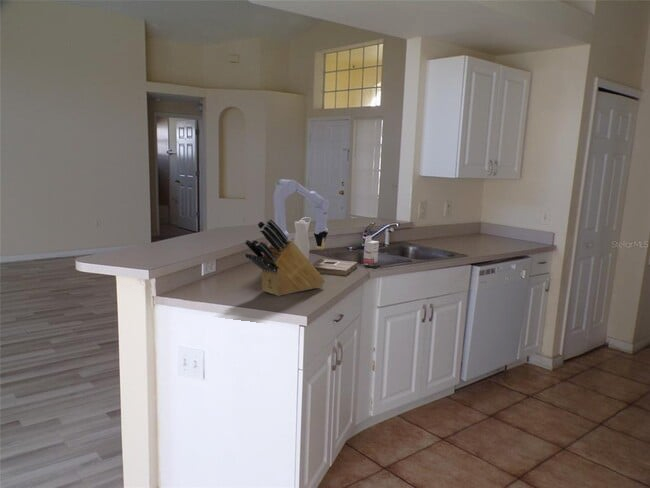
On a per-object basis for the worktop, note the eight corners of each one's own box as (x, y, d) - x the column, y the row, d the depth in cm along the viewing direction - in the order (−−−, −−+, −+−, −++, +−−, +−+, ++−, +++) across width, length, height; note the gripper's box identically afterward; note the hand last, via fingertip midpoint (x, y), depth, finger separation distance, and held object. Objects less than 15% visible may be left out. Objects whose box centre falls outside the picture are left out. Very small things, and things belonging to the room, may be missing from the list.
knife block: (241, 294, 198) (242, 217, 193) (308, 282, 222) (310, 213, 217) (258, 301, 190) (259, 220, 185) (325, 287, 214) (328, 216, 209)
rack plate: (345, 275, 239) (346, 270, 239) (306, 271, 245) (306, 265, 244) (356, 267, 260) (357, 261, 259) (320, 263, 266) (320, 258, 265)
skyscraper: (305, 274, 239) (307, 216, 234) (311, 278, 231) (313, 218, 227) (288, 275, 236) (290, 216, 231) (294, 279, 228) (295, 218, 224)
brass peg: (322, 249, 267) (323, 238, 266) (315, 249, 269) (316, 238, 268) (325, 248, 271) (325, 237, 270) (318, 248, 272) (318, 237, 271)
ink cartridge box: (371, 264, 268) (372, 237, 266) (363, 263, 270) (364, 236, 268) (378, 262, 275) (379, 235, 273) (369, 260, 278) (371, 234, 275)
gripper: (324, 222, 259) (323, 248, 262) (332, 219, 273) (331, 244, 275) (311, 221, 261) (310, 247, 264) (320, 219, 275) (319, 243, 277)
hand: (320, 245), depth 270 cm, fingers closed on brass peg, 4 cm apart
